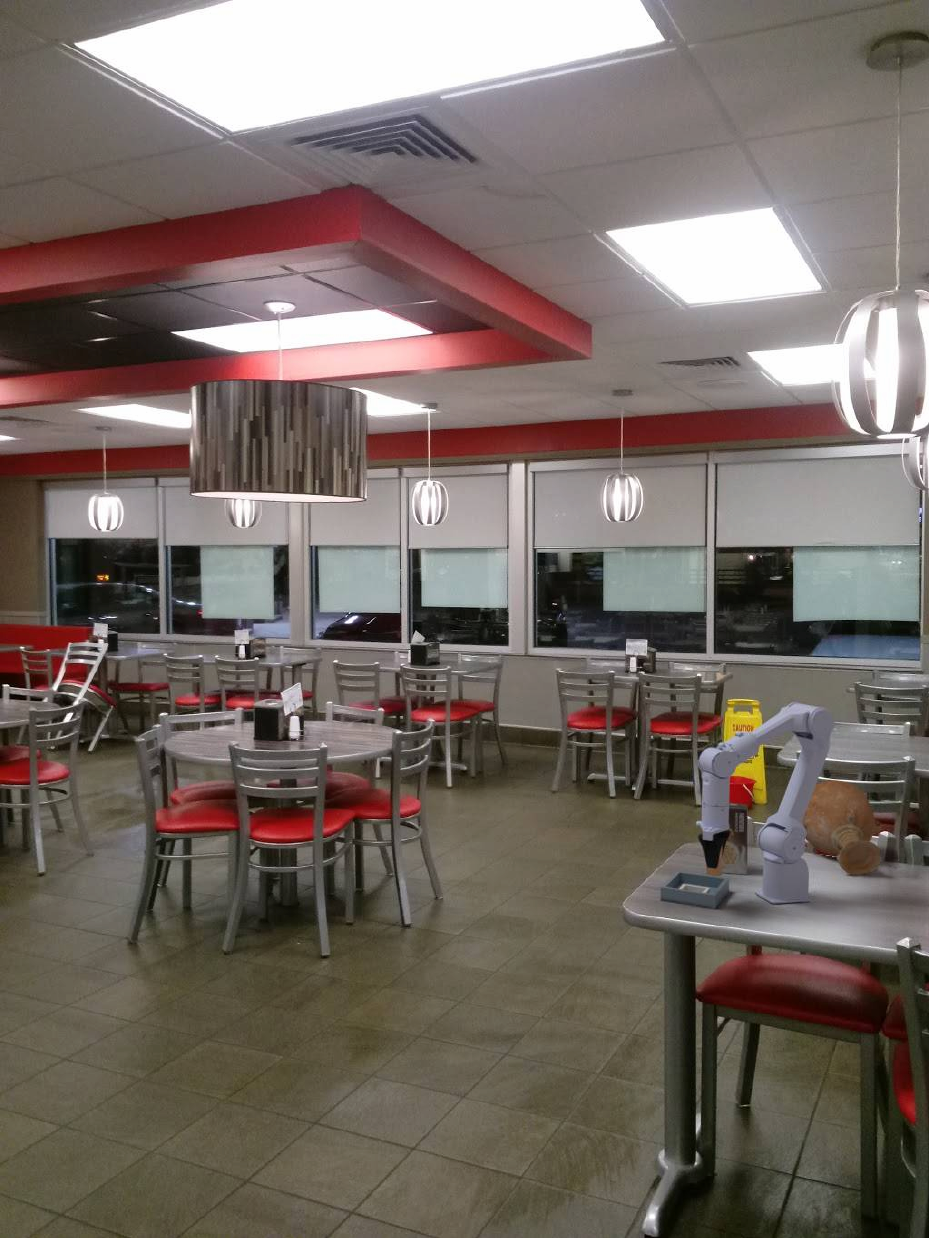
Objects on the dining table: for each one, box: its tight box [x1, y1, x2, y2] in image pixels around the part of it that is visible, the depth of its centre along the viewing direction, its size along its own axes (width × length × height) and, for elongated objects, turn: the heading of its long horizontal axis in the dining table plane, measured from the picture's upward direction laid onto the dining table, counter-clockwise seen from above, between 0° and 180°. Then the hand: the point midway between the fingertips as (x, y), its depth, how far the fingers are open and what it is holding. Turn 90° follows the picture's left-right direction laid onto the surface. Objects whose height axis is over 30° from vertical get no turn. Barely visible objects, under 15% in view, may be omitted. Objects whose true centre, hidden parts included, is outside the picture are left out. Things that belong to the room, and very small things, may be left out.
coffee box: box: [722, 802, 749, 876], centre depth 252 cm, size 9×6×16 cm
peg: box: [705, 845, 723, 877], centre depth 225 cm, size 3×3×7 cm
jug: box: [802, 780, 883, 876], centre depth 262 cm, size 20×19×30 cm
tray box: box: [660, 870, 730, 910], centre depth 232 cm, size 14×12×3 cm
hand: (713, 865), depth 225 cm, fingers closed on peg, 3 cm apart
